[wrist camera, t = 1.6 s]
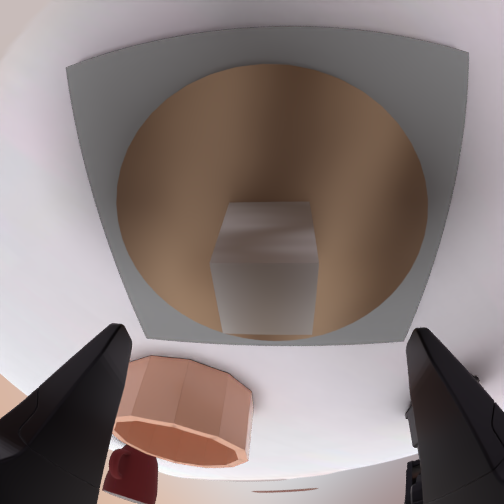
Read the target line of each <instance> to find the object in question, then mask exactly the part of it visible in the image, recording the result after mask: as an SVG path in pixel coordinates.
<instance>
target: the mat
mask: <svg viewBox="0 0 504 504" xmlns="http://www.w3.org/2000/svg"><path fill="white" fill-rule="evenodd" d="M257 64H283V65H293V66H298V67H303V68H309V69H313V70H317V71H320V72H322V73H325V74H328V75H331V76H334V77H336V78H339V79H341V80H343V81H345V82H347V83H349V84H350V85H352V86H354V87H356V88H358V89H359V90H361V91H363V92H364V93H366V94H367V95H368V96H369V97H371V98H372V99H373V100H375V101H376V102H377V103H378V104H380V105H381V106H382V107H383V108H384V109H385V110H386V111H387V112H388V113H389V114H390V115H391V116H392V117H393V118H394V119H395V121H396V122H397V123H398V124H399V125H400V127H401V128H402V130H403V131H404V133H405V134H406V136H407V137H408V139H409V140H410V142H411V143H412V145H413V148H414V150H415V152H416V154H417V156H418V158H419V160H420V163H421V167H422V170H423V174H424V177H425V181H426V188H427V196H428V219H427V225H426V231H425V236H424V239H423V242H422V245H421V248H420V251H419V254H418V256H417V258H416V260H415V262H414V264H413V266H412V268H411V270H410V271H409V273H408V274H407V276H406V277H405V279H404V280H403V282H402V283H401V284H400V285H399V287H398V288H397V289H396V290H395V291H394V292H393V294H392V295H391V296H390V297H388V298H387V299H386V300H385V301H384V302H383V303H382V304H381V305H380V306H378V307H377V308H376V309H374V310H373V311H372V312H370V313H369V314H367V315H366V316H364V317H362V318H361V319H359V320H357V321H355V322H354V323H352V324H350V325H347V326H345V327H343V328H340V329H338V330H336V331H332V332H329V333H326V334H323V335H319V336H315V337H310V338H306V339H298V340H290V341H264V340H254V339H247V338H241V337H237V336H233V335H228V334H225V333H222V332H219V331H216V330H213V329H210V328H208V327H206V326H204V325H202V324H199V323H197V322H195V321H193V320H192V319H190V318H188V317H186V316H185V315H183V314H181V313H180V312H179V311H177V310H176V309H174V308H173V307H172V306H170V305H169V304H168V303H167V302H165V301H164V300H163V299H162V298H161V297H160V296H159V295H158V294H157V293H156V292H155V291H154V290H153V289H152V288H151V287H150V286H149V285H148V284H147V282H146V281H145V280H144V279H143V277H142V276H141V274H140V273H139V272H138V270H137V269H136V267H135V265H134V263H133V262H132V260H131V258H130V256H129V254H128V252H127V249H126V247H125V244H124V242H123V239H122V236H121V232H120V228H119V223H118V216H117V206H116V199H117V184H118V179H119V174H120V169H121V166H122V163H123V160H124V157H125V155H126V152H127V149H128V147H129V145H130V144H131V142H132V140H133V138H134V136H135V135H136V133H137V131H138V130H139V128H140V127H141V126H142V125H143V123H144V122H145V121H146V119H147V118H148V117H149V116H150V114H151V113H152V112H154V111H155V110H156V109H157V108H158V107H159V106H160V105H161V104H162V103H163V102H164V101H165V100H166V99H168V98H169V97H170V96H172V95H173V94H175V93H176V92H178V91H179V90H181V89H182V88H184V87H185V86H187V85H189V84H191V83H193V82H195V81H197V80H199V79H201V78H204V77H206V76H208V75H210V74H214V73H217V72H220V71H224V70H227V69H231V68H235V67H241V66H249V65H257ZM468 69H469V53H468V52H465V51H462V50H458V49H455V48H451V47H448V46H444V45H440V44H436V43H432V42H428V41H423V40H419V39H414V38H409V37H404V36H398V35H393V34H386V33H380V32H373V31H365V30H356V29H345V28H332V27H311V26H272V27H250V28H237V29H226V30H217V31H209V32H202V33H195V34H188V35H183V36H177V37H171V38H166V39H161V40H157V41H152V42H148V43H143V44H139V45H135V46H131V47H128V48H124V49H120V50H117V51H113V52H110V53H107V54H103V55H100V56H97V57H94V58H91V59H88V60H85V61H82V62H79V63H77V64H74V65H71V66H68V67H66V72H67V79H68V86H69V92H70V98H71V104H72V109H73V115H74V120H75V125H76V129H77V134H78V139H79V143H80V147H81V152H82V156H83V160H84V164H85V168H86V172H87V175H88V179H89V183H90V186H91V190H92V193H93V197H94V200H95V204H96V207H97V210H98V213H99V217H100V220H101V223H102V226H103V229H104V232H105V235H106V238H107V241H108V244H109V247H110V250H111V252H112V255H113V258H114V261H115V263H116V266H117V269H118V271H119V274H120V277H121V279H122V282H123V284H124V287H125V289H126V292H127V294H128V297H129V299H130V302H131V304H132V306H133V309H134V311H135V313H136V316H137V318H138V320H139V323H140V325H141V327H142V329H143V331H144V334H145V336H146V338H147V339H157V340H168V341H180V342H193V343H209V344H229V345H258V346H325V345H354V344H373V343H389V342H402V341H404V340H405V337H406V335H407V333H408V330H409V328H410V326H411V323H412V321H413V318H414V316H415V313H416V311H417V308H418V306H419V303H420V301H421V298H422V295H423V293H424V290H425V287H426V284H427V281H428V279H429V276H430V273H431V270H432V267H433V264H434V260H435V257H436V254H437V251H438V248H439V244H440V241H441V237H442V234H443V230H444V226H445V223H446V219H447V215H448V211H449V207H450V203H451V198H452V194H453V189H454V184H455V180H456V174H457V169H458V164H459V158H460V152H461V145H462V138H463V131H464V123H465V114H466V103H467V90H468Z"/></svg>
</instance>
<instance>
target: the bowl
mask: <svg viewBox="0 0 504 504" xmlns="http://www.w3.org/2000/svg"><path fill="white" fill-rule="evenodd" d="M253 408H254V407H253V400H252V392H251V391H250V390H249V389H248V388H246V387H245V386H244V385H242V384H241V383H240V382H239V381H237V380H236V379H235V378H233V377H232V376H231V375H230V374H228V373H226V372H223V371H220V370H217V369H214V368H211V367H208V366H206V365H203V364H200V363H198V362H195V361H192V360H189V359H178V358H168V357H159V356H148V357H145V358H142V359H139V360H135V361H132V362H129V366H128V371H127V377H126V382H125V387H124V391H123V395H122V398H121V402H120V405H119V409H118V413H117V416H116V420H115V424H114V428H113V432H112V434H113V435H114V436H116V437H117V438H118V439H119V440H120V441H122V442H124V443H126V444H127V445H129V446H131V447H133V448H135V449H137V450H139V451H141V452H143V453H145V454H148V455H151V456H154V457H157V458H160V459H164V460H167V461H170V462H174V463H178V464H184V465H190V466H197V467H204V468H224V467H235V466H237V465H240V464H242V463H245V462H247V461H248V459H249V449H250V439H251V429H252V418H253Z"/></svg>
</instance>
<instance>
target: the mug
mask: <svg viewBox="0 0 504 504" xmlns="http://www.w3.org/2000/svg"><path fill="white" fill-rule="evenodd" d="M157 482H158V463H157V459H156V457H154V456H151V455H148V454H145V453H143V452H141V451H139V450H137V449H135V448H133V447H131V446H129V445H127V444H126V445H125V446H124V447H123V448H122V449H117V450H115V451H114V452H113V453H112V455H111V457H110V460H109V471H108V473H107V475H106V478H105V481H104V485H103V489H102V490H103V491H105V492H107V493H109V494H111V495H114V496H117V497H119V498H122V499H125V500H128V501H131V502H134V503H138V504H155V501H156V497H157V484H158V483H157Z"/></svg>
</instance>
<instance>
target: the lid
mask: <svg viewBox="0 0 504 504" xmlns="http://www.w3.org/2000/svg"><path fill="white" fill-rule="evenodd" d="M116 206H117V216H118V223H119V228H120V232H121V236H122V239H123V242H124V244H125V247H126V249H127V252H128V254H129V256H130V258H131V260H132V262H133V263H134V265H135V267H136V269H137V270H138V272H139V273H140V274H141V276H142V277H143V279H144V280H145V281H146V282H147V284H148V285H149V286H150V287H151V288H152V289H153V290H154V291H155V292H156V293H157V294H158V295H159V296H160V297H161V298H162V299H163V300H164V301H165V302H167V303H168V304H169V305H170V306H172V307H173V308H174V309H176V310H177V311H179V312H180V313H181V314H183V315H185V316H186V317H188V318H190V319H192V320H193V321H195V322H197V323H199V324H202V325H204V326H206V327H208V328H210V329H213V330H216V331H219V332H222V333H225V334H228V335H233V336H237V337H241V338H247V339H254V340H264V341H290V340H298V339H306V338H310V337H315V336H319V335H323V334H326V333H329V332H332V331H336V330H338V329H340V328H343V327H345V326H347V325H350V324H352V323H354V322H355V321H357V320H359V319H361V318H362V317H364V316H366V315H367V314H369V313H370V312H372V311H373V310H374V309H376V308H377V307H378V306H380V305H381V304H382V303H383V302H384V301H385V300H386V299H387V298H388V297H390V296H391V295H392V294H393V292H394V291H395V290H396V289H397V288H398V287H399V285H400V284H401V283H402V282H403V280H404V279H405V277H406V276H407V274H408V273H409V271H410V270H411V268H412V266H413V264H414V262H415V260H416V258H417V256H418V254H419V251H420V248H421V245H422V242H423V239H424V236H425V231H426V225H427V219H428V196H427V188H426V181H425V177H424V174H423V170H422V167H421V163H420V160H419V158H418V156H417V154H416V152H415V150H414V148H413V145H412V143H411V142H410V140H409V139H408V137H407V136H406V134H405V133H404V131H403V130H402V128H401V127H400V125H399V124H398V123H397V122H396V121H395V119H394V118H393V117H392V116H391V115H390V114H389V113H388V112H387V111H386V110H385V109H384V108H383V107H382V106H381V105H380V104H378V103H377V102H376V101H375V100H373V99H372V98H371V97H369V96H368V95H367V94H366V93H364V92H363V91H361V90H359V89H358V88H356V87H354V86H352V85H350V84H349V83H347V82H345V81H343V80H341V79H339V78H336V77H334V76H331V75H328V74H325V73H322V72H320V71H317V70H313V69H309V68H303V67H298V66H293V65H283V64H257V65H249V66H241V67H235V68H231V69H227V70H224V71H220V72H217V73H214V74H210V75H208V76H206V77H204V78H201V79H199V80H197V81H195V82H193V83H191V84H189V85H187V86H185V87H184V88H182V89H181V90H179V91H178V92H176V93H175V94H173V95H172V96H170V97H169V98H168V99H166V100H165V101H164V102H163V103H162V104H161V105H160V106H159V107H158V108H157V109H156V110H155V111H154V112H152V113H151V114H150V116H149V117H148V118H147V119H146V121H145V122H144V123H143V125H142V126H141V127H140V128H139V130H138V131H137V133H136V135H135V136H134V138H133V140H132V142H131V144H130V145H129V147H128V149H127V152H126V155H125V157H124V160H123V163H122V166H121V169H120V174H119V179H118V184H117V199H116Z"/></svg>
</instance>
